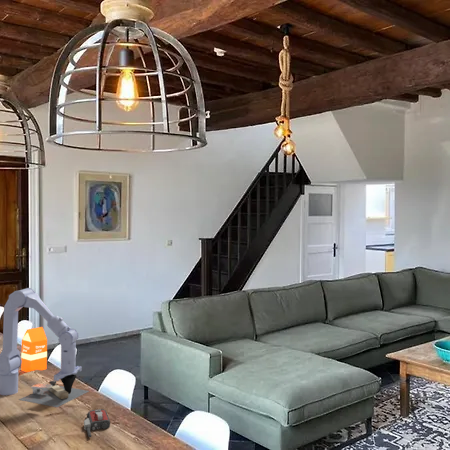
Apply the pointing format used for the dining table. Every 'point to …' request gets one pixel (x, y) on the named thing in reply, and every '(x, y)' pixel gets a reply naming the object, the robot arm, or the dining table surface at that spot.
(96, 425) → the walkie-talkie
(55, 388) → the link
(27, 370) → the orange juice
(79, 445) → the dining table surface
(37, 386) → the block
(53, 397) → the board
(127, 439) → the dining table surface
